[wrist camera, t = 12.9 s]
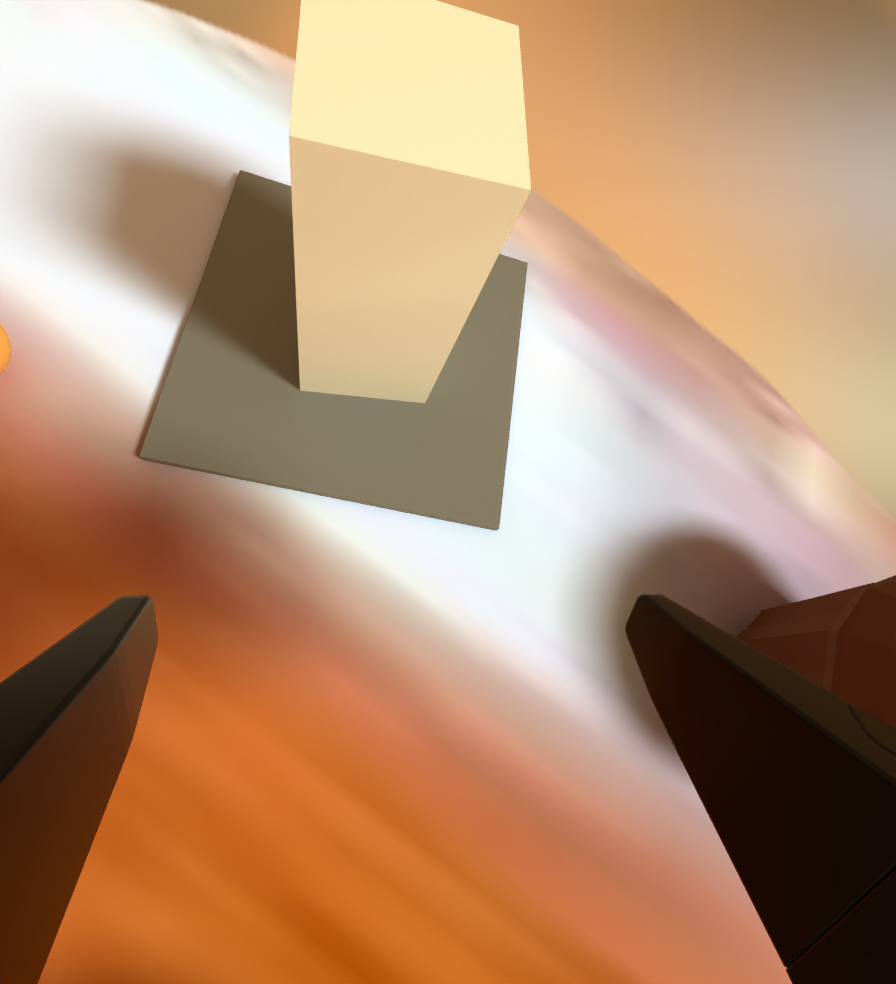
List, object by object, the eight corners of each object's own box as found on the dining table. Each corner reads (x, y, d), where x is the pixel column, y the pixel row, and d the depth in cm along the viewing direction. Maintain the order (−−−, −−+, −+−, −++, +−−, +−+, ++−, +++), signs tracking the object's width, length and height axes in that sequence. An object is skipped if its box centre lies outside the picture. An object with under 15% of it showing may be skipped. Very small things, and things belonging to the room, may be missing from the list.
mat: (495, 530, 23) (498, 528, 22) (142, 459, 20) (139, 456, 19) (524, 267, 27) (527, 263, 27) (241, 176, 24) (239, 169, 24)
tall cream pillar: (425, 403, 23) (530, 189, 12) (299, 390, 22) (289, 135, 11) (424, 300, 25) (518, 25, 14) (307, 282, 23) (305, -41, 12)
